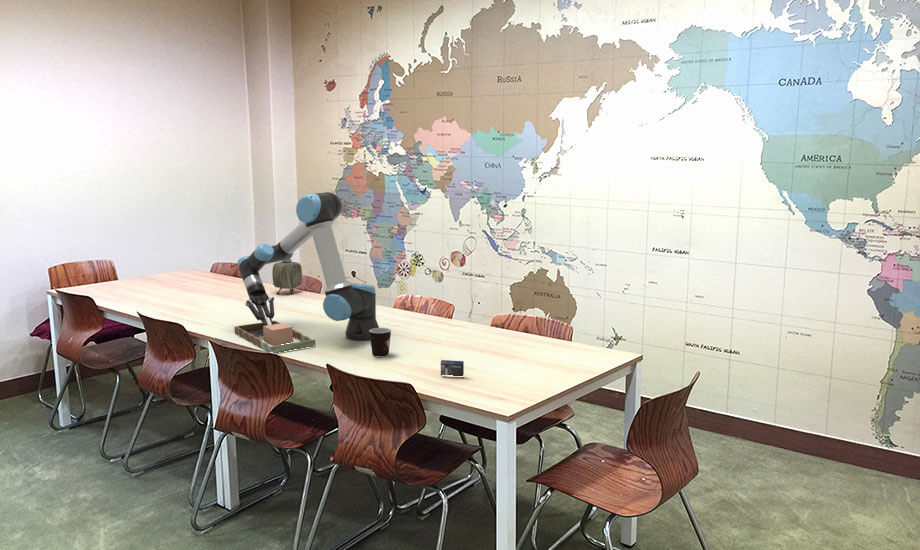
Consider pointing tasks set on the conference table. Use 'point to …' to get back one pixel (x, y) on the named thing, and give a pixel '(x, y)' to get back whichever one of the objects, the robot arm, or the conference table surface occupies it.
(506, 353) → the conference table surface
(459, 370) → the mini dv tape
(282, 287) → the tabletop clock
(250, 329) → the wooden tray
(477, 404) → the conference table surface
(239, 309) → the conference table surface
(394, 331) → the conference table surface
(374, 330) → the coffee mug
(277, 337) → the terracotta block
